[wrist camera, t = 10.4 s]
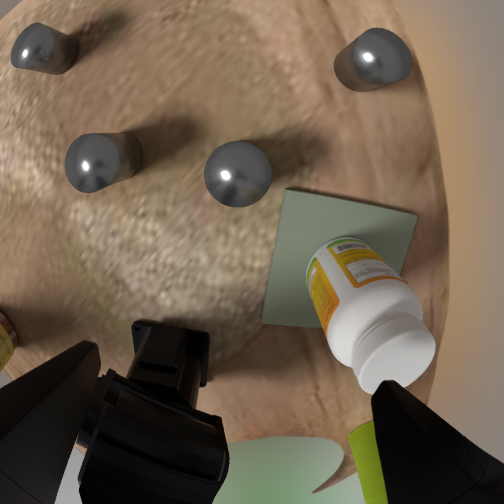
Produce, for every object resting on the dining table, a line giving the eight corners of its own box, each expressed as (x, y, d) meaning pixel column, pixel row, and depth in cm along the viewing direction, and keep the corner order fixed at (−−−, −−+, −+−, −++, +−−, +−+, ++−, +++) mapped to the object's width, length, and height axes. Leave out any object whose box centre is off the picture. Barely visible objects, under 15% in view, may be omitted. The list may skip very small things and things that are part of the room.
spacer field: (355, 209, 18) (383, 230, 14) (35, 176, 17) (-2, 189, 13) (382, -22, 11) (407, -46, 7) (79, -34, 10) (54, -53, 5)
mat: (375, 326, 22) (377, 330, 22) (260, 318, 22) (261, 323, 21) (413, 214, 19) (417, 216, 18) (284, 188, 18) (286, 189, 17)
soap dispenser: (341, 429, 29) (373, 568, 10) (392, 413, 28) (439, 542, 10) (340, 448, 31) (366, 567, 12) (386, 434, 30) (423, 547, 12)
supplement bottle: (334, 315, 21) (376, 416, 12) (288, 272, 19) (318, 378, 10) (387, 269, 20) (459, 352, 11) (347, 219, 18) (426, 292, 9)
